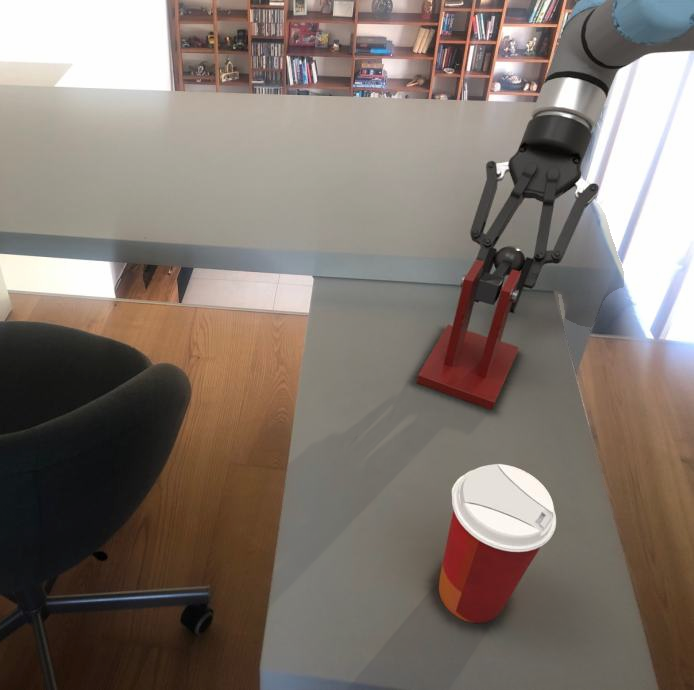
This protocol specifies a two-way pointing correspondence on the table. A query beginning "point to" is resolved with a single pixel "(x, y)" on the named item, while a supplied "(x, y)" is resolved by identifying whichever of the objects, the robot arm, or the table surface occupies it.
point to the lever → (499, 274)
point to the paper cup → (492, 539)
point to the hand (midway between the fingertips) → (492, 304)
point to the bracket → (473, 348)
